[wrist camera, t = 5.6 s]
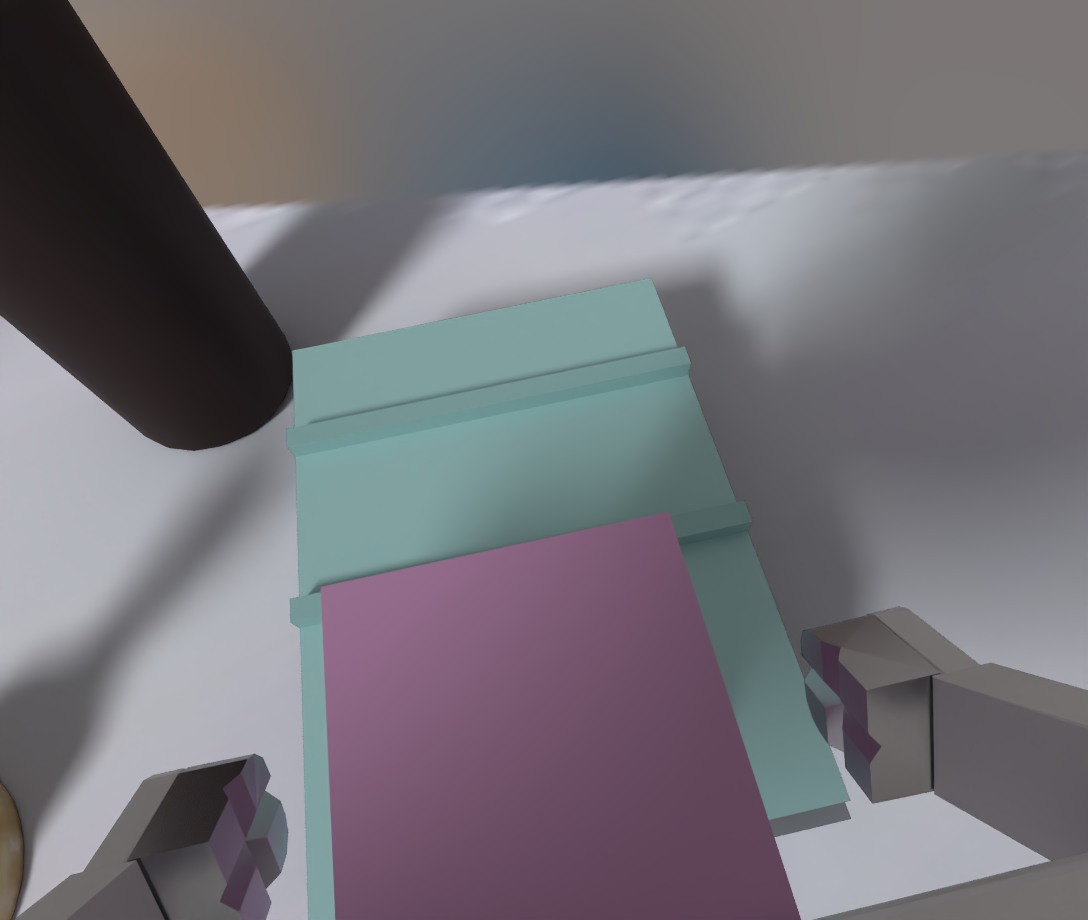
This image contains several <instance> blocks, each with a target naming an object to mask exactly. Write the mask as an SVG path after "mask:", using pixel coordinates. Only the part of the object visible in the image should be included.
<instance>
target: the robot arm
mask: <svg viewBox="0 0 1088 920" xmlns="http://www.w3.org/2000/svg"><path fill="white" fill-rule="evenodd" d="M801 649H802V656H803V657H804V658H805V659H806V661H807V662H808V663H809V664H810V665H811V667H812V668H811V670H810V671H809V673H808V675H807V676H806V678H805V680H804V684H805V692H806V700H807V703H808V706H809V710H810V713H811V716H812V719H813V721H814V723H815V725H816V726H817V728H818V730H819V732H820V734H821V735H822V736H823V738H824V739H825V741H826V742H827V743H828V745H830V746H832V747H834V748H836V749H839V750H841V751H843V752H844V757H845V768H846V769H847V770H848V772H849V773H850V774H851V776H852V777H853V778H854V780H855V781H856V782H857V784H858V785H859V786H860V788H861V789H862V790H863V792H864V793H865V794H866V796H867V797H868V798H869V800H870V801H871V802H872V804H874V803H878V802H883V801H888V800H893V799H898V798H903V797H908V796H912V795H917V794H922V793H927V792H932V791H934V794H935V795H937V796H939V797H940V798H942V799H944V800H946V801H947V802H949V803H951V804H953V805H954V806H956V807H958V808H960V809H961V810H963V811H965V812H967V813H968V814H970V815H972V816H974V817H975V818H977V819H979V820H981V821H982V822H984V823H986V824H988V825H989V826H991V827H993V828H995V829H996V830H998V831H1000V832H1002V833H1003V834H1005V835H1007V836H1009V837H1010V838H1012V839H1014V840H1016V841H1017V842H1019V843H1021V844H1023V845H1024V846H1026V847H1028V848H1030V849H1031V850H1033V851H1035V852H1037V853H1038V854H1040V855H1042V856H1044V857H1045V858H1047V859H1049V860H1051V861H1050V862H1045V863H1041V864H1037V865H1033V866H1029V867H1025V868H1021V869H1017V870H1013V871H1009V872H1005V873H1001V874H997V875H993V876H989V877H985V878H981V879H977V880H973V881H969V882H964V883H960V884H956V885H952V886H948V887H944V888H940V889H936V890H932V891H928V892H924V893H920V894H916V895H912V896H908V897H904V898H900V899H896V900H892V901H888V902H884V903H880V904H875V905H871V906H867V907H863V908H859V909H855V910H851V911H847V912H842V913H838V914H834V915H830V916H826V917H822V918H818V919H814V920H1088V690H1084V689H1081V688H1077V687H1074V686H1070V685H1067V684H1063V683H1060V682H1056V681H1053V680H1049V679H1046V678H1042V677H1039V676H1035V675H1032V674H1028V673H1025V672H1021V671H1018V670H1015V669H1011V668H1008V667H1004V666H1001V665H997V664H994V663H988V664H983V665H980V664H978V663H977V662H976V661H975V660H973V659H972V658H971V657H969V656H968V655H967V654H966V653H964V652H963V651H962V650H960V649H959V648H958V647H956V646H955V645H954V644H953V643H951V642H950V641H949V640H947V639H946V638H945V637H944V636H942V635H941V634H940V633H938V632H937V631H936V630H935V629H933V628H932V627H931V626H929V625H928V624H927V623H926V622H924V621H923V620H922V619H920V618H919V617H918V616H917V615H915V614H914V613H913V612H911V611H910V610H909V609H907V608H904V607H900V606H898V607H894V608H890V609H886V610H883V611H879V612H875V613H871V614H867V616H863V617H859V618H854V619H850V620H846V621H842V622H838V623H833V624H829V625H825V626H821V627H817V628H812V629H808V630H804V631H803V632H802V637H801ZM270 776H271V775H270V773H269V771H268V769H267V766H266V764H265V762H264V759H263V758H262V757H260V756H258V755H256V754H251V755H246V756H241V757H236V758H232V759H227V760H222V761H217V762H212V763H207V764H202V765H197V766H192V767H188V768H186V769H178V770H174V771H169V772H165V773H160V774H156V775H153V776H151V777H149V778H147V779H146V780H144V781H143V782H142V783H141V785H140V787H139V788H138V790H137V791H136V793H135V794H134V796H133V797H132V799H131V800H130V802H129V803H128V805H127V806H126V808H125V809H124V811H123V812H122V814H121V815H120V817H119V818H118V820H117V821H116V823H115V824H114V826H113V827H112V829H111V830H110V832H109V833H108V835H107V836H106V838H105V840H104V841H103V843H102V844H101V846H100V847H99V849H98V850H97V852H96V853H95V855H94V856H93V858H92V859H91V861H90V862H89V864H88V865H87V867H86V868H85V870H84V871H83V872H82V873H77V874H73V875H70V876H69V877H68V878H67V879H65V880H64V881H63V882H61V883H60V884H59V885H58V886H56V887H55V888H54V889H53V890H51V891H50V892H49V893H47V894H46V895H45V896H44V897H42V898H41V899H40V900H39V901H37V902H36V903H35V904H33V905H32V906H31V907H30V908H28V909H27V910H26V911H25V912H23V913H22V914H21V915H19V916H18V917H17V918H16V919H14V920H266V917H267V914H268V911H269V908H270V905H271V900H270V898H269V895H268V893H267V890H266V889H267V887H268V886H269V885H270V884H271V883H272V882H273V881H274V880H275V879H276V878H277V877H278V876H279V874H280V873H281V871H282V868H283V865H284V861H285V858H286V855H287V841H288V828H287V822H286V816H285V812H284V810H283V807H282V804H281V801H280V800H278V799H277V798H275V797H274V796H272V795H271V794H269V793H268V792H266V791H265V789H266V787H267V784H268V782H269V779H270Z"/></svg>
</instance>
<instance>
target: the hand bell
mask: <svg viewBox="0 0 1088 920" xmlns="http://www.w3.org/2000/svg"><path fill="white" fill-rule="evenodd" d="M23 852H24V844H23V837H22V829H21V823H20V820H19V817H18V813H17V810H16V807H15V804H14V802H13V800H12V798H11V797H10V795H9V793H8V792H7V790H6V789H5V788H4V786H3V785H2V784H1V782H0V920H11V918H12V915H13V913H14V910H15V905H16V900H17V897H18V894H19V891H20V886H21V882H22V877H23Z"/></svg>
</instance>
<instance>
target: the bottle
mask: <svg viewBox="0 0 1088 920" xmlns="http://www.w3.org/2000/svg"><path fill="white" fill-rule="evenodd" d="M0 315H1V316H2V317H3V318H4V319H6V320H7V321H8V322H9V323H10V324H12V325H13V326H14V327H15V328H16V329H18V330H19V331H20V332H21V333H22V334H24V335H25V336H26V337H27V338H28V339H29V340H31V341H32V342H33V343H34V344H35V345H37V346H38V347H39V348H40V349H41V350H43V351H44V352H45V353H46V354H47V355H49V356H50V357H51V358H52V359H53V360H55V361H56V362H57V363H58V364H59V365H61V366H62V367H63V368H64V369H65V370H67V371H68V372H69V373H70V374H71V375H73V376H74V377H75V378H76V379H77V380H79V381H80V382H81V383H82V384H83V385H84V386H86V387H87V388H88V389H89V390H90V391H92V392H93V393H94V394H95V395H96V396H98V397H99V398H100V399H101V400H102V401H104V402H105V403H106V404H107V405H108V406H110V407H111V408H112V409H113V410H114V411H116V412H117V413H118V414H119V415H120V416H122V417H123V418H124V419H125V420H126V421H128V422H129V423H130V424H131V425H132V426H134V427H135V428H136V429H137V430H138V431H139V432H141V433H142V434H143V435H144V436H145V437H147V438H149V439H151V440H153V441H155V442H158V443H160V444H162V445H164V446H166V447H168V448H174V449H183V450H192V451H196V450H202V449H208V448H214V447H219V446H223V445H225V444H227V443H229V442H232V441H234V440H236V439H238V438H241V437H243V436H245V435H247V434H248V433H250V432H251V431H252V430H254V429H255V428H256V427H258V426H259V425H260V424H261V423H263V422H264V421H265V420H267V419H268V418H269V417H270V416H271V414H272V413H273V412H274V410H275V409H276V408H277V407H278V405H279V404H280V403H281V402H282V400H283V399H284V397H285V395H286V392H287V390H288V387H289V385H290V382H291V379H292V373H293V356H292V352H291V349H290V347H289V345H288V342H287V340H286V337H285V335H284V334H283V332H282V331H281V329H280V327H279V326H278V324H277V323H276V321H275V320H274V318H273V317H272V315H271V313H270V312H269V310H268V309H267V307H266V306H265V304H264V303H263V301H262V300H261V298H260V296H259V295H258V293H257V292H256V290H255V289H254V287H253V286H252V284H251V283H250V281H249V279H248V278H247V276H246V275H245V273H244V272H243V270H242V269H241V267H240V266H239V264H238V262H237V261H236V259H235V258H234V256H233V255H232V253H231V252H230V250H229V249H228V247H227V245H226V244H225V242H224V241H223V239H222V238H221V236H220V235H219V233H218V232H217V230H216V228H215V227H214V225H213V224H212V222H211V221H210V219H209V218H208V216H207V214H206V213H205V211H204V210H203V208H202V207H201V205H200V204H199V202H198V201H197V199H196V197H195V196H194V194H193V193H192V191H191V190H190V188H189V187H188V185H187V184H186V182H185V180H184V179H183V177H182V176H181V174H180V173H179V171H178V170H177V168H176V167H175V165H174V164H173V162H172V161H171V159H170V157H169V156H168V154H167V153H166V151H165V150H164V148H163V146H162V145H161V143H160V142H159V140H158V139H157V137H156V136H155V134H154V133H153V131H152V129H151V128H150V126H149V125H148V123H147V122H146V120H145V119H144V117H143V115H142V114H141V113H140V111H139V109H138V108H137V106H136V105H135V103H134V102H133V100H132V98H131V97H130V95H129V94H128V92H127V91H126V89H125V88H124V86H123V85H122V83H121V81H120V80H119V78H118V77H117V75H116V74H115V72H114V71H113V69H112V68H111V66H110V64H109V63H108V61H107V60H106V58H105V57H104V55H103V54H102V52H101V51H100V49H99V47H98V46H97V44H96V43H95V41H94V40H93V38H92V37H91V35H90V33H89V32H88V30H87V29H86V27H85V26H84V24H83V23H82V21H81V20H80V18H79V16H78V15H77V13H76V12H75V10H74V9H73V7H72V6H71V4H70V3H69V1H68V0H0Z"/></svg>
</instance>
